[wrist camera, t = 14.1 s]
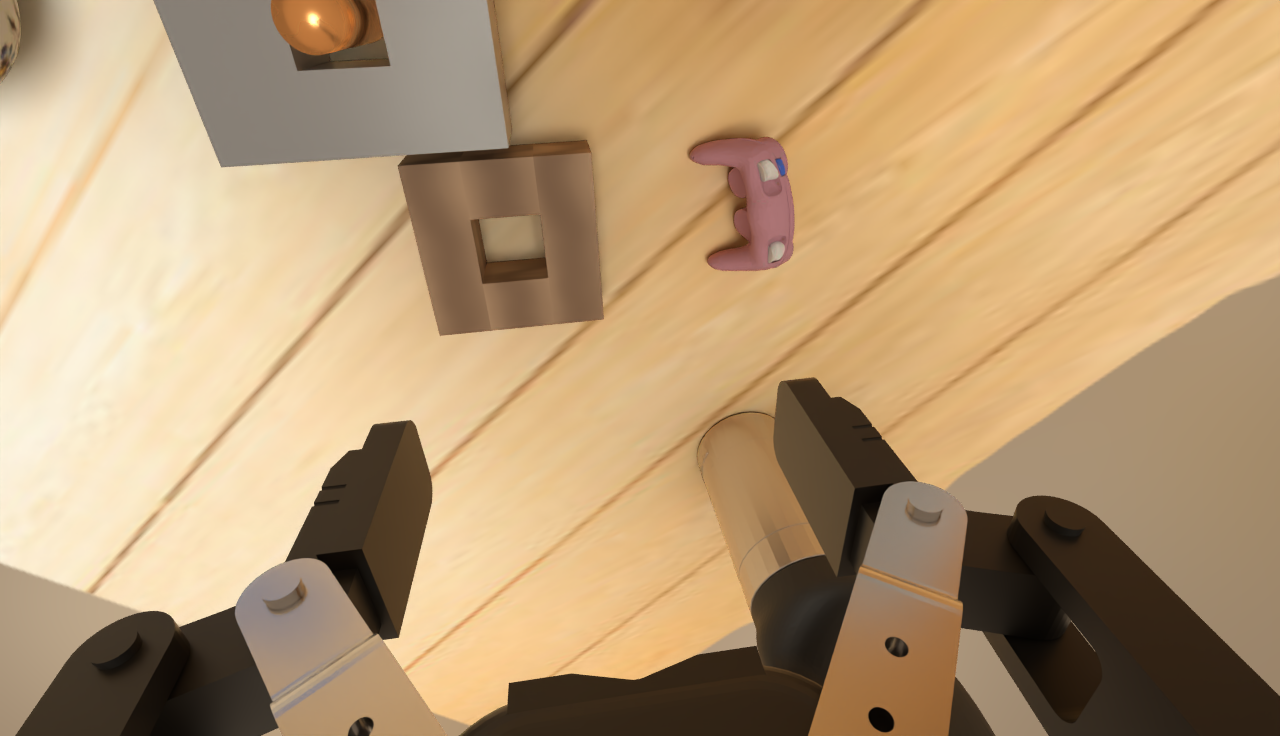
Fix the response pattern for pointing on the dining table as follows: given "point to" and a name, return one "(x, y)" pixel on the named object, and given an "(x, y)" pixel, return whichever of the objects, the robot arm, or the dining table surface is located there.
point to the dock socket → (342, 83)
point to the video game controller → (754, 201)
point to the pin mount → (504, 187)
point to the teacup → (9, 35)
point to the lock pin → (326, 24)
